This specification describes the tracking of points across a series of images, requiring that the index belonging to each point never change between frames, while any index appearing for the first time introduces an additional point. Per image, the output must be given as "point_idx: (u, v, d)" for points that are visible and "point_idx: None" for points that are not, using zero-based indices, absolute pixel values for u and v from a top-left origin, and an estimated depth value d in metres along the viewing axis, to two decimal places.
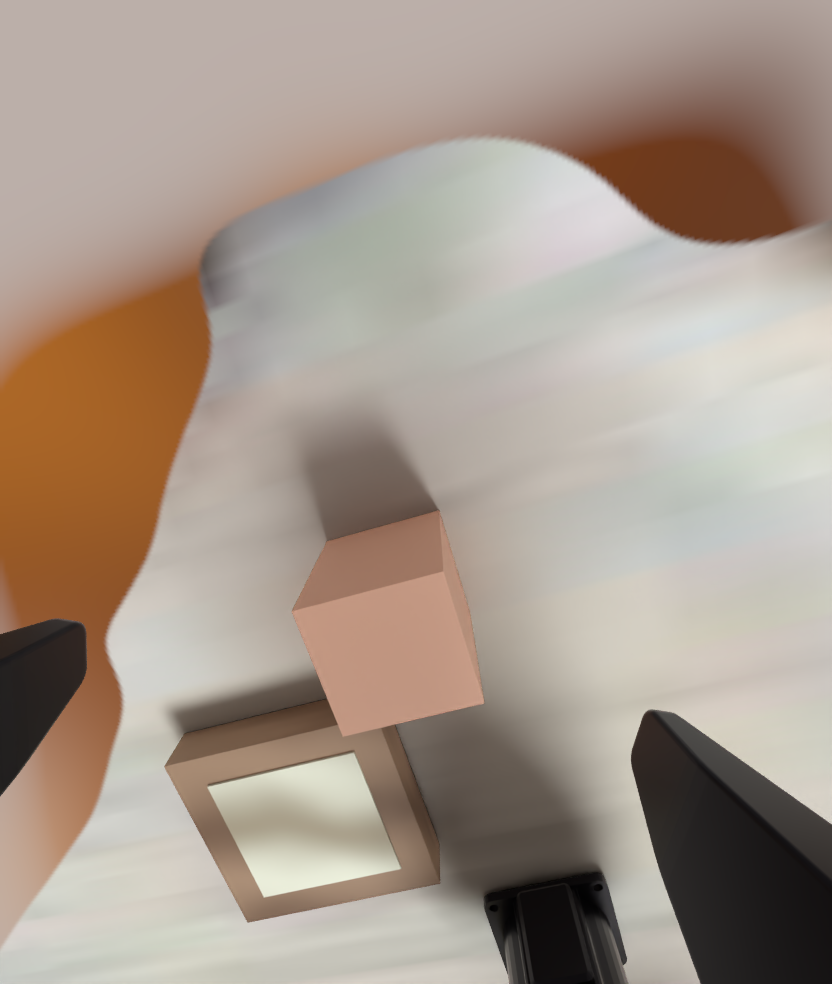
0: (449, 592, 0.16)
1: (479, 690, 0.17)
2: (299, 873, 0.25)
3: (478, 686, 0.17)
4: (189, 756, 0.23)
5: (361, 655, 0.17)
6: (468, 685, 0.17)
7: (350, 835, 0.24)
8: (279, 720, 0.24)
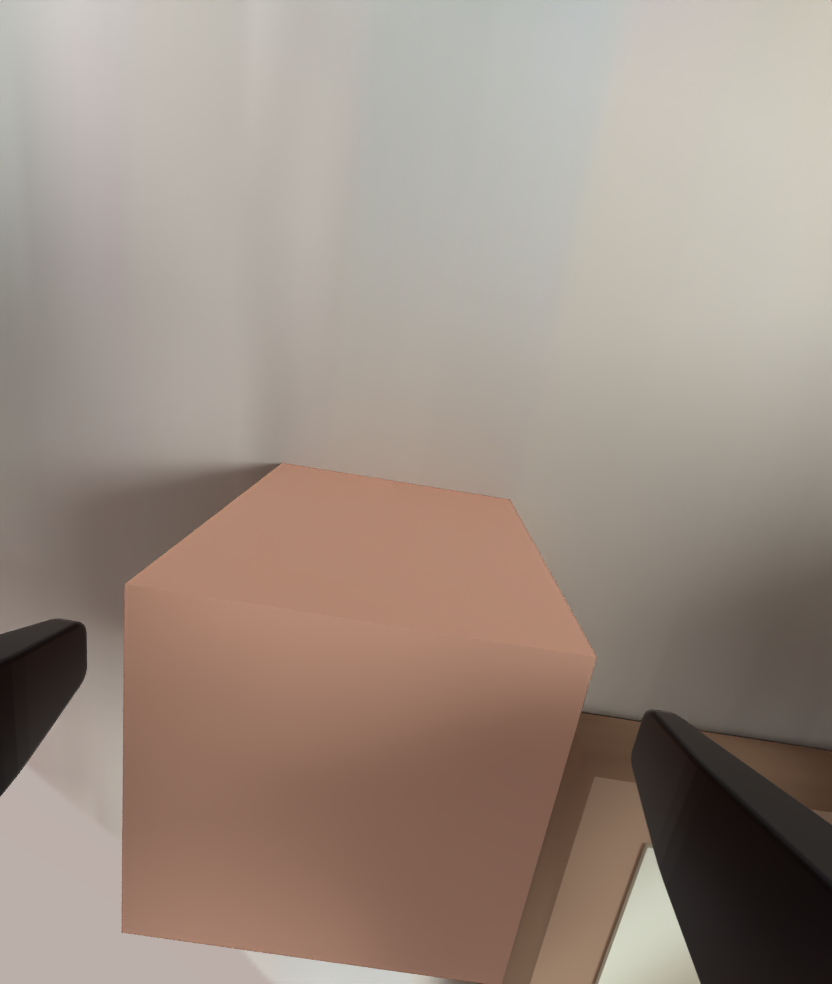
0: (200, 594, 0.05)
1: (547, 651, 0.05)
2: None
3: (532, 648, 0.05)
4: None
5: (297, 861, 0.06)
6: (512, 672, 0.06)
7: None
8: (531, 889, 0.13)
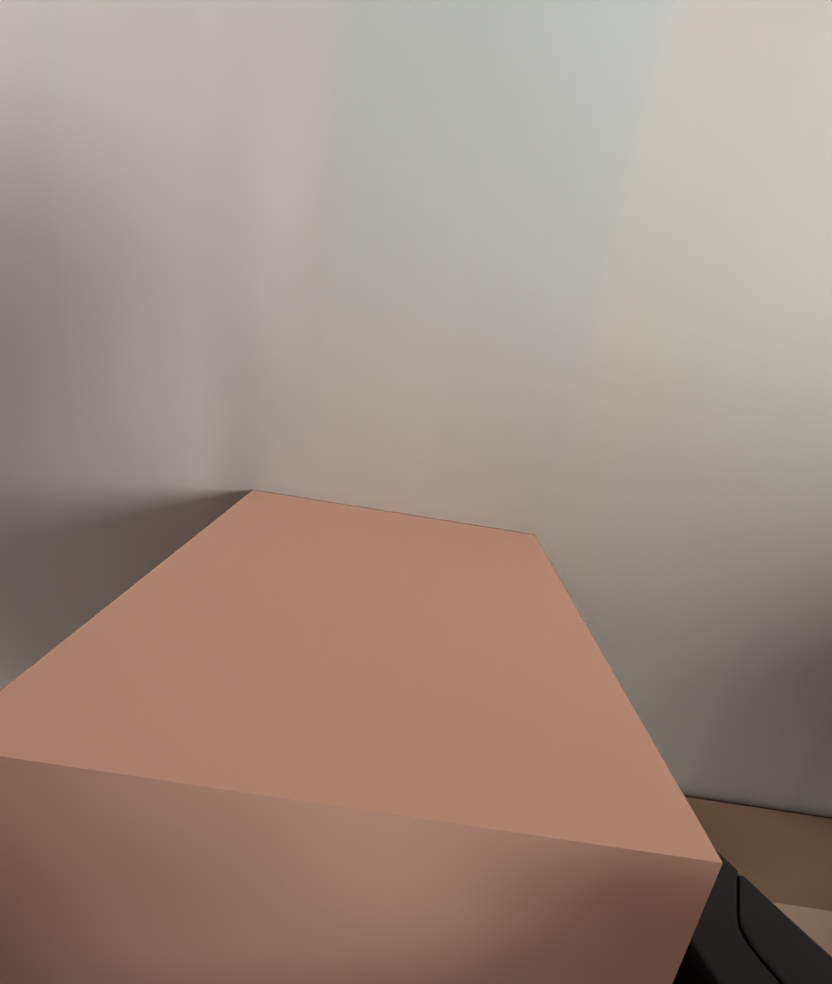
0: (62, 760, 0.03)
1: (640, 850, 0.03)
2: None
3: (615, 847, 0.03)
4: None
5: None
6: (579, 883, 0.03)
7: None
8: None
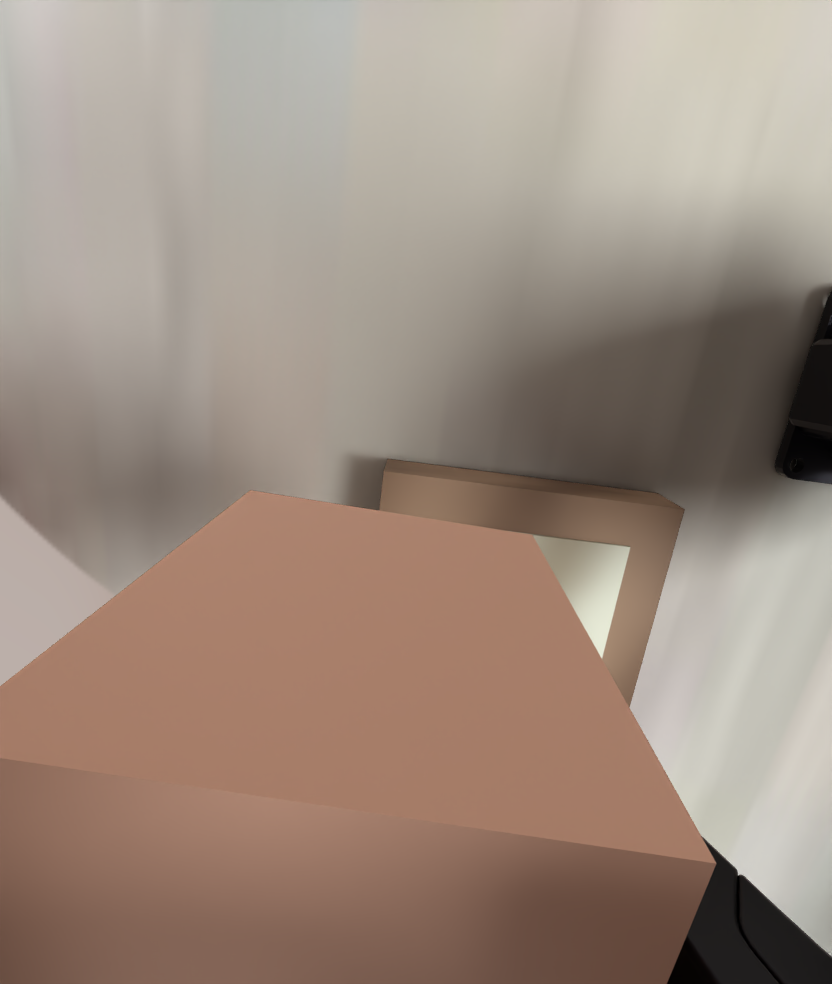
0: (55, 761, 0.03)
1: (634, 851, 0.03)
2: None
3: (609, 848, 0.03)
4: None
5: None
6: (573, 884, 0.03)
7: None
8: None
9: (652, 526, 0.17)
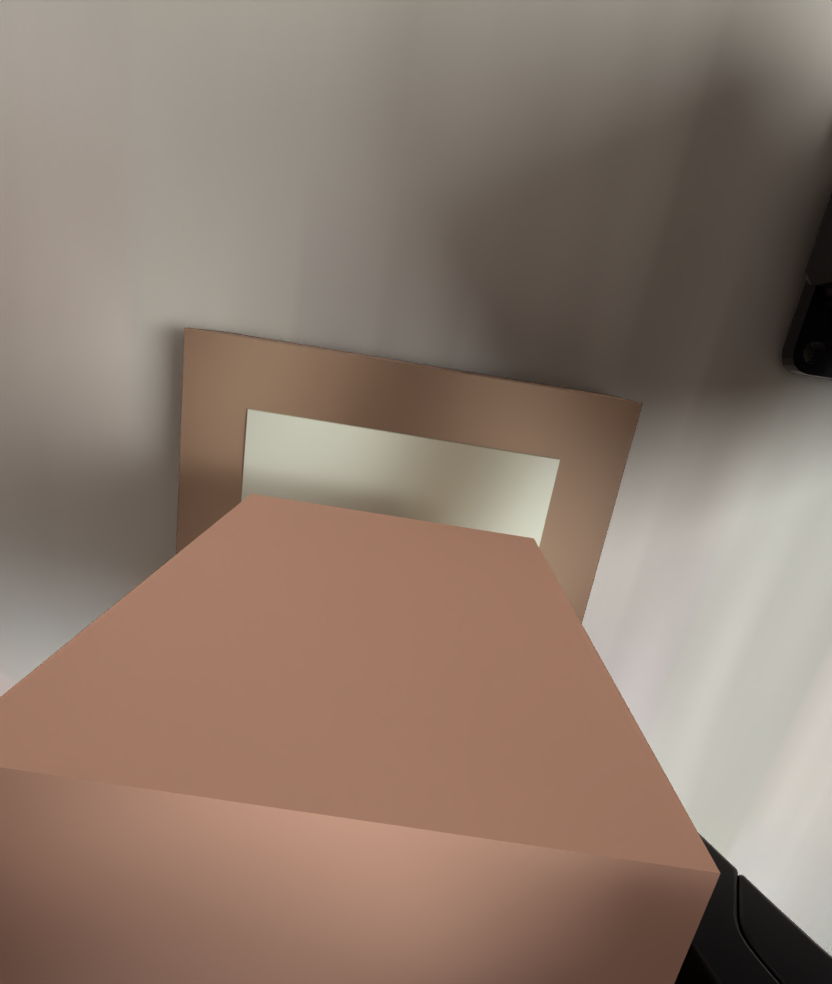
0: (59, 770, 0.03)
1: (638, 860, 0.03)
2: None
3: (613, 857, 0.03)
4: None
5: None
6: (578, 893, 0.03)
7: (436, 513, 0.12)
8: None
9: (593, 429, 0.11)
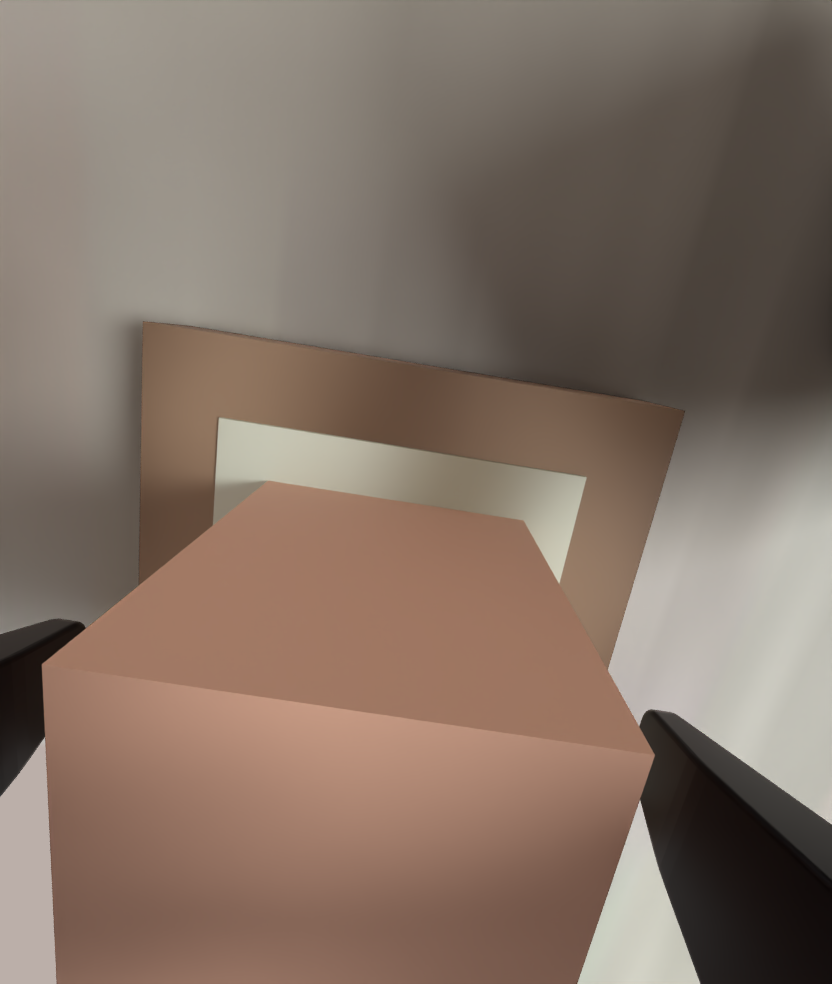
0: (142, 676, 0.04)
1: (591, 746, 0.04)
2: None
3: (571, 743, 0.04)
4: None
5: None
6: (544, 773, 0.04)
7: None
8: None
9: (626, 441, 0.10)
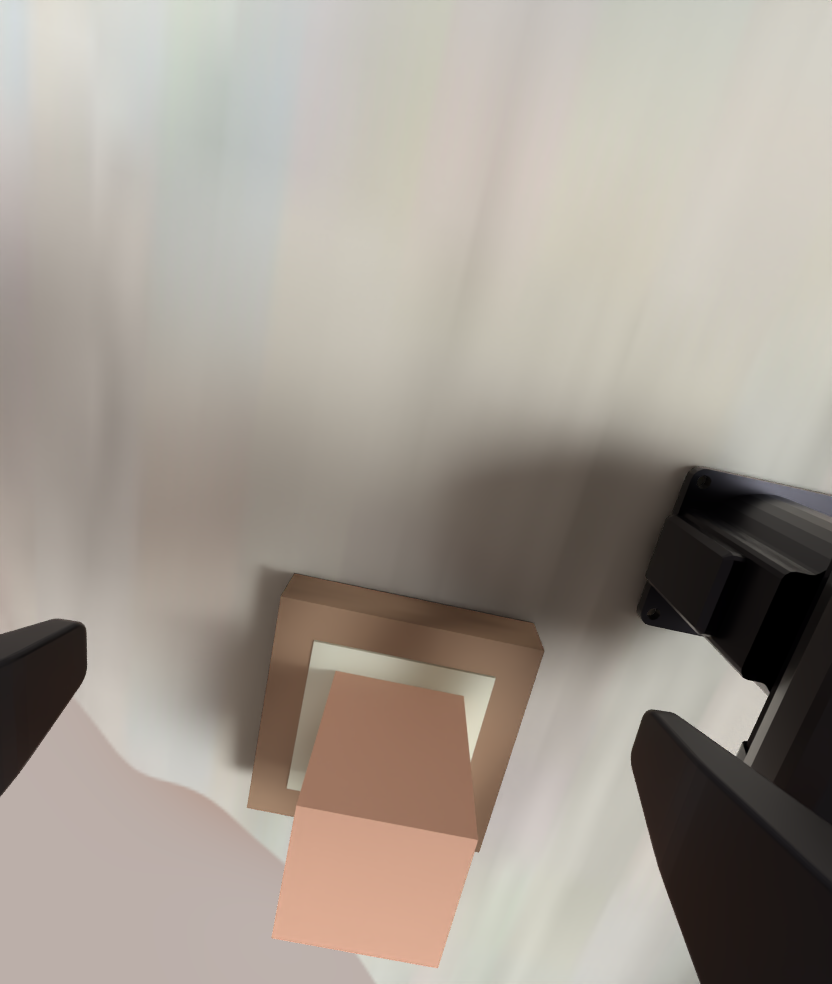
0: (324, 809, 0.14)
1: (459, 836, 0.14)
2: None
3: (453, 835, 0.14)
4: None
5: (352, 911, 0.15)
6: (445, 843, 0.14)
7: None
8: None
9: (516, 662, 0.19)
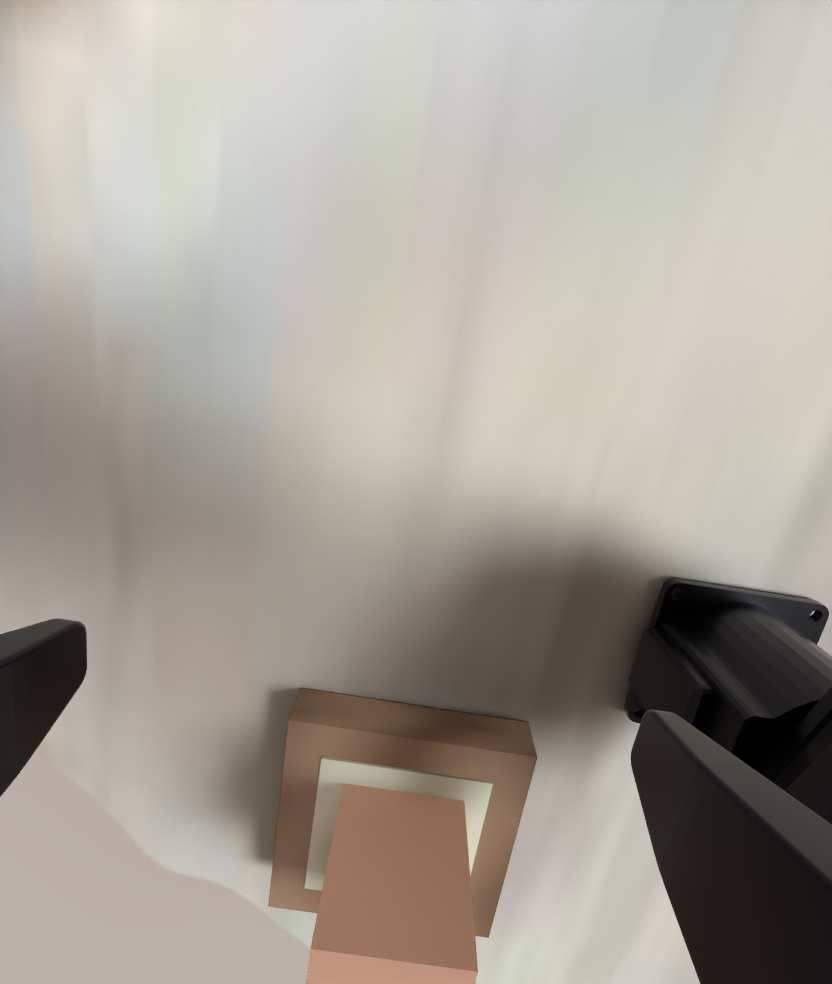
0: (336, 950, 0.15)
1: (460, 969, 0.15)
2: None
3: (455, 968, 0.15)
4: None
5: None
6: (448, 976, 0.15)
7: None
8: None
9: (511, 768, 0.21)
